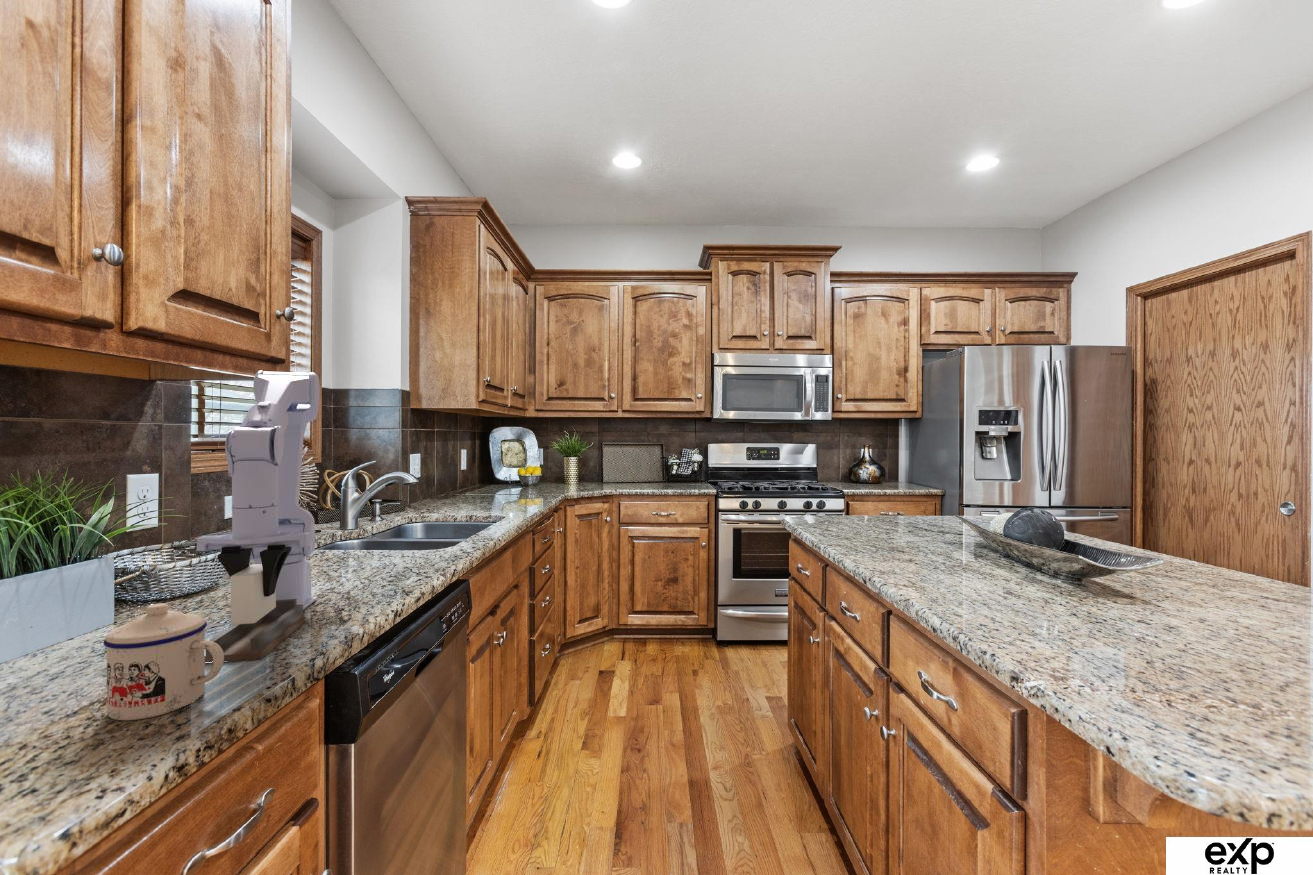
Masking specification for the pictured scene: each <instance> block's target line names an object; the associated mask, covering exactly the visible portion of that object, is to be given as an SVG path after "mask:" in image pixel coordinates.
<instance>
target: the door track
mask: <svg viewBox="0 0 1313 875" xmlns="http://www.w3.org/2000/svg"><path fill="white" fill-rule="evenodd" d="M305 622H306V616H305V615H304V610H303V604H301V605H297V599H286V600H276V607H275V608H274V609H273V610H272V611H270V612H269V613H268V614H266V615H265V616H264V617H262V618H261V619H260V620H258V621H257V622H256V623H249V624H234V625H231V624H230V626H228V627H227V628H225V629H223V630H221V631H220V632H219V633H217V634H216V635H214V636H213V637H212V638H210V639H208V640H207V641H212V642H215V643H217V644H218V645H219V646H220V647H221V648H222V650H223V653H224V661H234V662H243V661H244V662H245V661H256V660H262V659H263V658H264V657H266V656H267V654H269V653H270V652H272V651H273V650H274V649H275V648H277V646H278V645H280V644H281V643H282V642H283V641H284V640H285V639H287V638H288V637H289V636H290V635H291V634H293V633H294V632H295V631H296V630H297V629H299V628H300V627H301V626H302V625H303V624H305ZM212 661H213V657H212V655H211V653H210V652H209V651H207V650H205V662H212Z"/></svg>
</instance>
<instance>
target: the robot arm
mask: <svg viewBox="0 0 1313 875" xmlns="http://www.w3.org/2000/svg"><path fill="white" fill-rule="evenodd" d="M320 388H321V386H320V379H319V375H318V374H317V373H316V372H290V371H288V372H287V371H285V372H284V371H265V370H258V371H257V372H256V373H255V375H254V378H253V394H254V399H255V401H256V403H255V404H254V405H252V406H251V407H250V408H249V409H248V411H247V413H246V415H245V416H244V419H243V420H242V422H241V424H240V426H238V427H235V428H234V430H229V431H228V432H227V434H226V436H225V444H224V449H225V451H224V452H225V458H226V461H227V471H228V477H231V505H232V506H231V521H232V522H231V533H230V534H229V533H228V534H217V535H216V534H215V535H202V536H201V537H197V538H196V552H204V551H209V550H210V551H211V550H221V551H220V553H218V554H217V555H216V556H217V560H218V562H219V563H220V564H221V565H222V567H223V568H224V570H225V571H226V573H227V575H228V577H229V578H230V577H231V576H232V575H234V574H236V573H238V572H240V571H242V570H244V569H246V568H247V567H249V566H250V562H253V564H262V567H263V592H264V597H267V596H271V595H272V594H274V593H275V588H276V600H286V599H297V605H301V604H303V611H304V610H305V609H306V608H308V606H310V605H311V604H313V603H314V602H315V601H316V600H318V597H317V596H312V566H311V563H310V561H309V560H308V559H307V558H309V557H311V555H312V554H314V551H315V547H316V528H315V526H316V525H315V524H316V523H315V521H316V520H315V518H314V516H313V514H312V513H311V512H310V511H308V510H306V509H305V508H303V507H301V506H300V505H299V503H300V491H301V477H302V476H301V475H302V464H303V450H304V436H305V433H306V428H307V425H308V424H309V423H310V422H312V421H315V420H317V418H318V414H319V411H320V409H319V408H320V398H321V397H320V396H321V395H320V394H321V392H320V391H321V389H320Z"/></svg>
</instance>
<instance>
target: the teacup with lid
mask: <svg viewBox="0 0 1313 875" xmlns="http://www.w3.org/2000/svg"><path fill="white" fill-rule="evenodd" d="M207 626H208V624H207V621H206V619H205V618H204V617H203V616H201V615H199V614H191V613H190V614H189V613H183V612H180V611H177V610H172V609H171V610H169V605H168V603H163V602H162V603H155V604H154V603H153V604H151V605H148V606H147V607H146V609H145V614H142V615H140V616H137V617H136V618H134V619H133V620H131V621H130V622H128V623H126V624H122V625H121V626H118V627H116V628H113V629H112V630H110V631H109V632H108V633H106V635H105V637H104V640H103V645H104V646H105V647H106V714H107V716H108V717H109V718H111V719H113V720H118V721H137V720H143V719H150V718H154V717H159V716H162V715H166V714H169V713H171V712H170V711H172V712H174V710H175V711H177V709H178V710H180V709H182V708H181V707H183V706H185V707H187V706H188V705H187V704H189V705H191V704H193V703H194V702H196V701H197V700H199V697H200V698H201V697H202V696H203V695H204V692H205V688H206V687H205V684H206V683H208V682H209V681H211V680H213V679H214V678H216V677H217V676H218V675H219V674H220V672H221V670H222V668H223V665H224V663H225V662H224V653H223V650H222V648H221V647H220V646H219V645H218V644H217V643H215V642H212V641H208V640H206V639H205V629H206V627H207ZM206 650H207V651H209V652H210V653H211V655H212V657H213V663H211V664H212V665H211V669H210V671H209V672H208V673H207V674H205V673H206V672H205V669H206V668H205V666H206V664H205V655H206ZM201 695H202V696H201ZM196 699H197V700H196ZM195 700H196V701H195ZM193 701H194V702H193ZM192 702H193V703H192ZM190 703H191V704H190ZM186 705H187V706H186ZM179 708H180V709H179ZM183 708H184V707H183ZM168 712H169V713H168ZM165 713H166V714H165Z"/></svg>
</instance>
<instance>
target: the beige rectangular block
mask: <svg viewBox="0 0 1313 875" xmlns="http://www.w3.org/2000/svg"><path fill="white" fill-rule="evenodd" d="M229 580H230V581H229V582H230V583H229V584H230V587H229V588H230V626H231V625H234V624H249V623H256V622H257V621H258V620H260V619H261V618H262V617H264V616H265V615H266V614H268V613H269V612H270V611H272V610H273V609H274V608H275V607H276V588H275V593H274V594H272V595H271V596H267V597H264V592H263V567H262V564H254V563H253V564H251V565H249V567H247V568H246V569H244V570H242V571H240V572H238V573H236V574H234V575H232V576H231V577H229Z"/></svg>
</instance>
